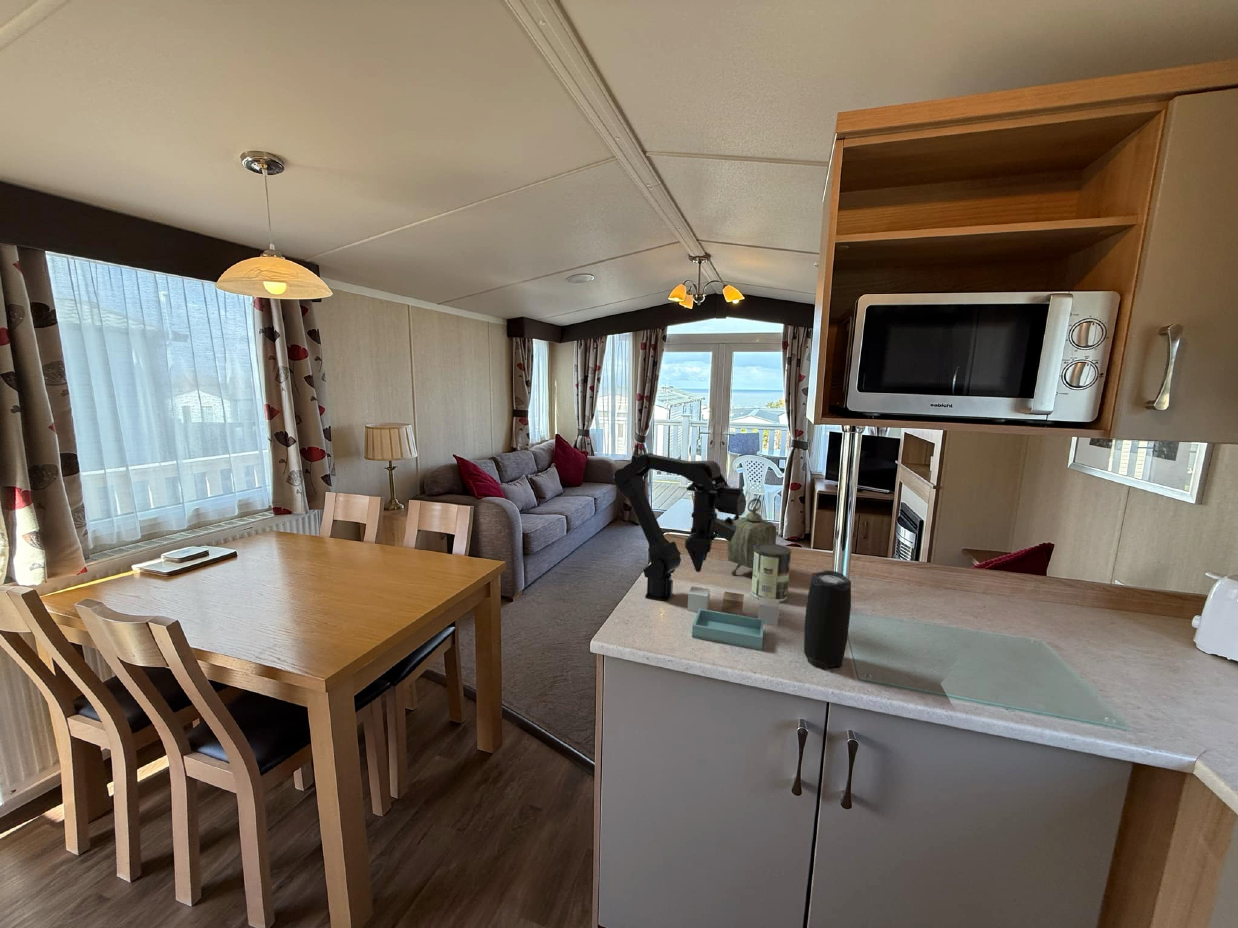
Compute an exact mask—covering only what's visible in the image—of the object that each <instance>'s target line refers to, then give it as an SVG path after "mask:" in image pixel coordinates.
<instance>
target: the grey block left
mask: <svg viewBox="0 0 1238 928" xmlns="http://www.w3.org/2000/svg"><path fill="white" fill-rule="evenodd" d="M710 592H711V589H710V588H704V587H698V586H691V587H690V589H689V591H688V593H687V594H688V595H687V596H688V597H687V598H688V599H687V611H688V612H692V613H693V612H694V613H697V612H698V610H699V609H704V610H709V608H710V595H711V594H710Z"/></svg>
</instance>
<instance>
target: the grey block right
mask: <svg viewBox="0 0 1238 928" xmlns="http://www.w3.org/2000/svg"><path fill="white" fill-rule="evenodd" d="M757 607H758V609H757V618H758V619H764V624H765V625H770V626H775V627H778V626H779V613H780V602H779V600H778V599H771V598H765V597H759V599H758V606H757ZM764 624H763V625H764Z"/></svg>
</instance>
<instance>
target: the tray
mask: <svg viewBox="0 0 1238 928" xmlns="http://www.w3.org/2000/svg"><path fill="white" fill-rule="evenodd" d="M691 631H692V632H691V637H692V638H694V639H700V640H705V641H706V640H707V641H710V642H717V643H721V642H722V643H723V644H726V645H727V644H728V645H732V646H738V647H743V648H748V649H755V650H760V651H762V649H763V637H764V636H763V635H764V619H758V617H752V616H751V617H750V616H746V615H742V616H740V615H734V614H728V613H722V611H715V610H711V609H708V610H704V609H699V610H698V612H696V615H695V618H694V621H693V623H692V630H691ZM722 643H721V644H722Z"/></svg>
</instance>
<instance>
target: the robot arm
mask: <svg viewBox="0 0 1238 928" xmlns="http://www.w3.org/2000/svg"><path fill="white" fill-rule="evenodd" d="M650 470H654V471H658V472H662V473H668V474H673V475H677V476H681V477H684V478H685V479H686V480H688V481H689V482H691V484H689V486H688V487H686V490H687V491H690V492H693V505H692V506H693V508H692V509H693V510H692V513H691V518H692V526H691V528H690V534H689V535H688V536H687V537H686V538H685V540H684V549H686V551H687V552H688V555H689V557H690V559H691V563H692V564H693V567H694V569H695V571H696V573H697V572H698V573H701V570H702V566H703V563H704V561H706V559H707V557H708V554H709V552H711V549H712V545H713V544H712V543H713V540H715V539H716V538H717V537H721V538H723V539H725V540H726V541H727V542H728V541H731V540H732V538H733V536H734V534H735V531H736V529H737V527H736V525H733V521H734V518H732V517H729V516H727V517H726V518H725V519H723V518H719V517H718V513H717V511H718V512H719V513H724V514H729V515H734V516H742V515H744V513H745V511H746V508H747V500H746V495H745V493H744V488H742V487H730V486H729V484H728V482H727V481H726V479H725V477H724V476H723V474H722V472H721V467H720V465H719V464H718V462H717V461H714V460H685V459H678V458H673V457H669V456H668V457H667V456H663V455H657V454H654V453H652V452H648V453H642V454H639V456H637V457H636V458H635V459H633V460H632V461H630V462H629V463H628V464H626V465H625V466H623V467H622V468H618V469H616V471H615V472H614V475H613V482H614V484H615V486H616V488H617V489H618V491H619V492H620V493H621V495H623V496H624V497H625V498H626V499H627V500H628V501H629V504H630V506H631V508H632V510H633V512H634V514H635V516H636V519H637V521H638V523H639V526H640V528H641V530H642V532H643V534H644V536H645V539H646V541H647V543H648V546H649V549H648V551H649V553H648V554H649V555H648V557H649V561H650V564H648V565H646V567H645V568H643V575H644V578H647V583H646V584H647V585H646V594H645V595H644V598H646V599H650V600H656V601H657V600H658V601H662V602H663V601H664V602H667V601H669V600H670V598H671V597H672V595H673V589H674V580H673V579H672V574H673V573H675V571H676V569H678V568H679V566H680V565H681V562H682V558H681V554H682V553H681V552H680V551H679V549H678V546H677V542H675V541H671V542H670V541H669V540H667V538H666V537H665V535H664V534H663V530H662V527H661V526H660V524H659V522H658V520H657V517H656V515H655V514H654V511H653V509H652V507H651V504H650V503H649V500H648V498H647V496H646V493H645V480H644V479H645V478H644V477H645V476H646V475H647V474H648V473H649V472H650ZM716 510H717V511H716Z"/></svg>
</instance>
